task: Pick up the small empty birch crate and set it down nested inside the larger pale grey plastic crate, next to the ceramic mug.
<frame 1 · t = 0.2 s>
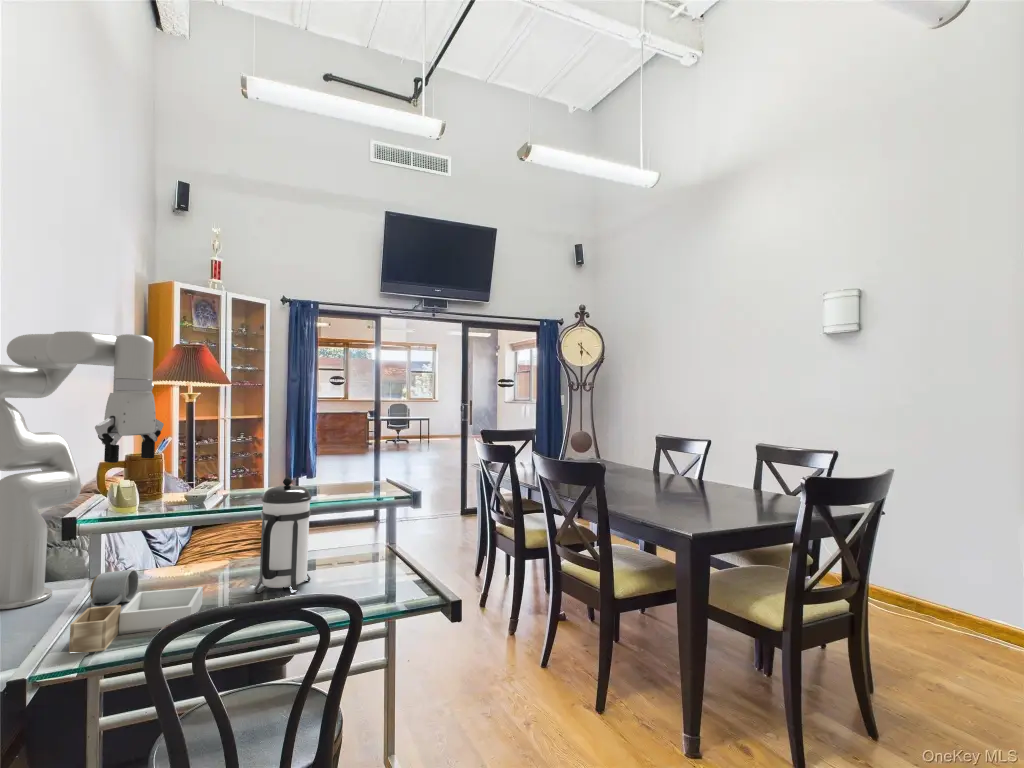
hand: (130, 460, 127), 37 cm above the table, tool pointing down, fingers open, 9 cm apart
coffee press: (282, 589, 148), on the table
ceramic mug: (112, 604, 134), on the table
grey crate: (163, 618, 126), on the table
birch crate: (95, 643, 113), on the table
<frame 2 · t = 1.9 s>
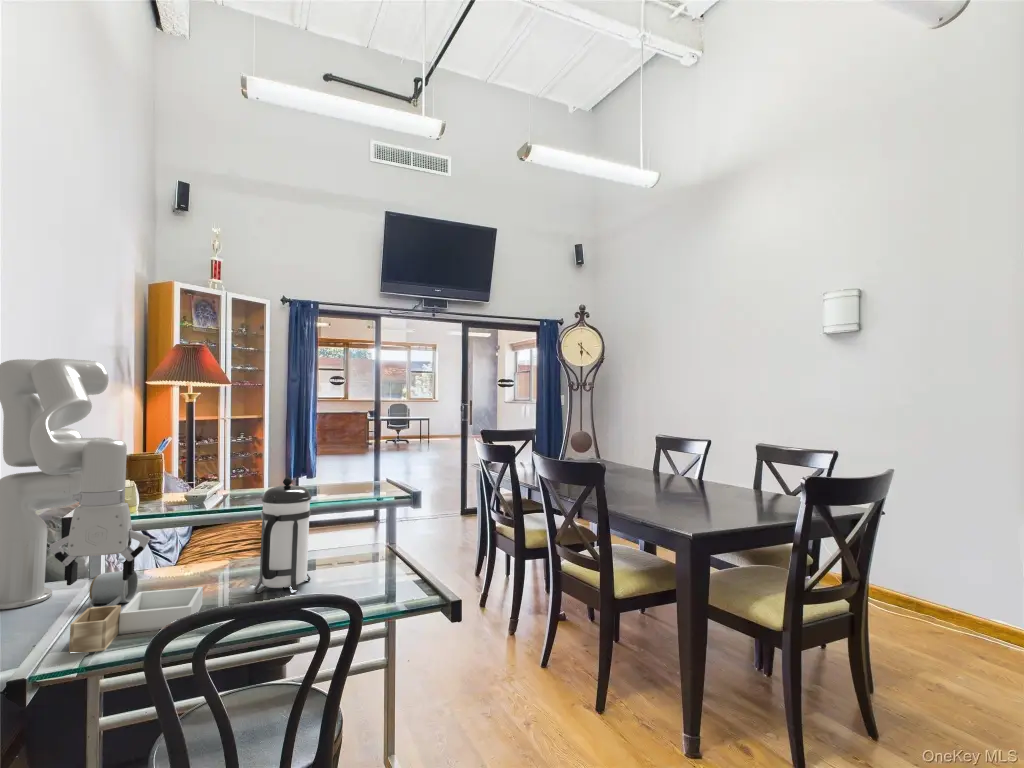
hand: (99, 580, 113), 13 cm above the table, tool pointing down, fingers open, 9 cm apart
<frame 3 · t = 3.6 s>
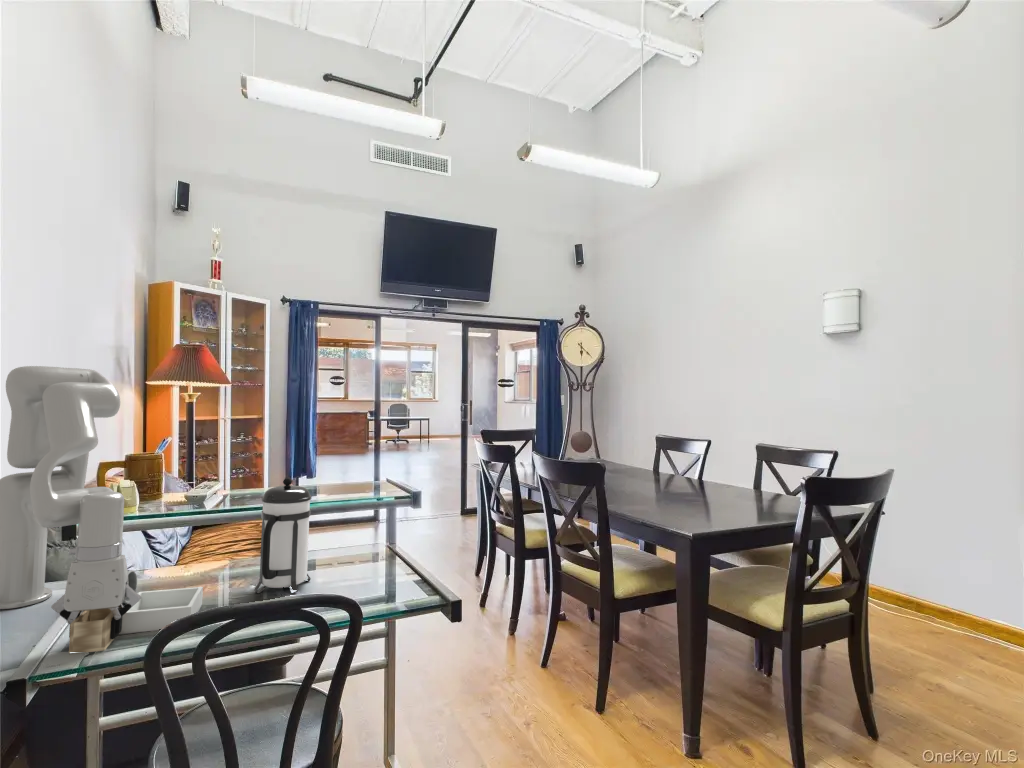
hand: (95, 637, 113), 1 cm above the table, tool pointing down, fingers closed on birch crate, 6 cm apart
birch crate: (95, 642, 113), on the table, touching gripper
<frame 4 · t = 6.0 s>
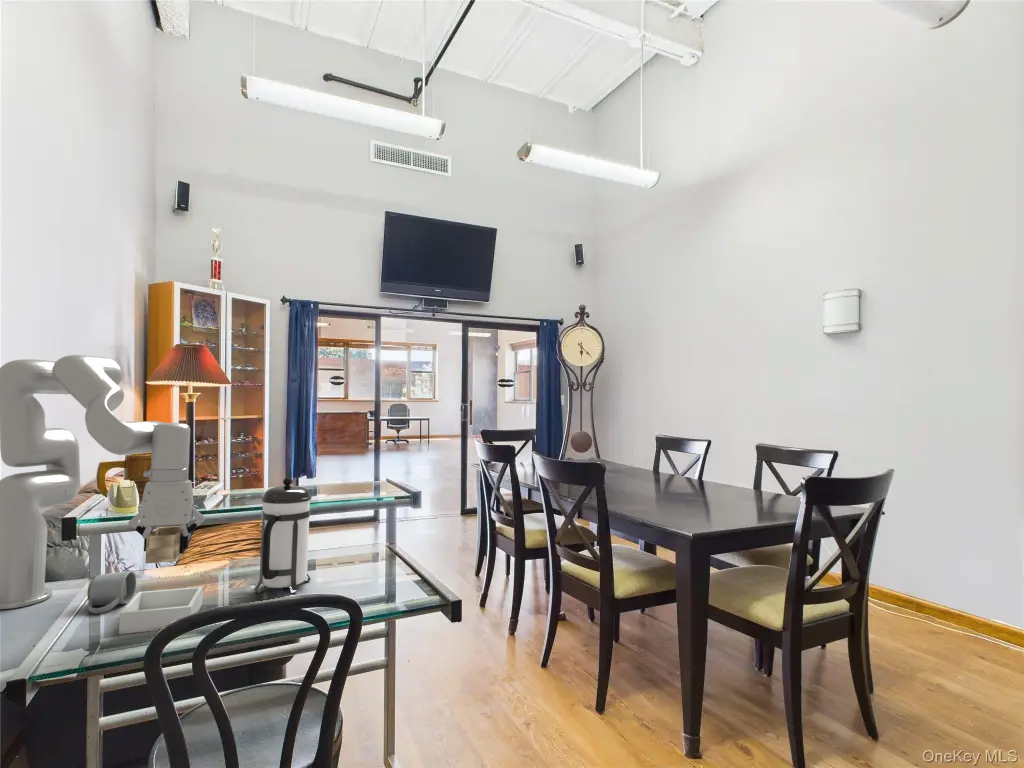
hand: (166, 552, 127), 15 cm above the table, tool pointing down, fingers closed on birch crate, 6 cm apart
birch crate: (166, 556, 127), point 14 cm above the table, touching gripper
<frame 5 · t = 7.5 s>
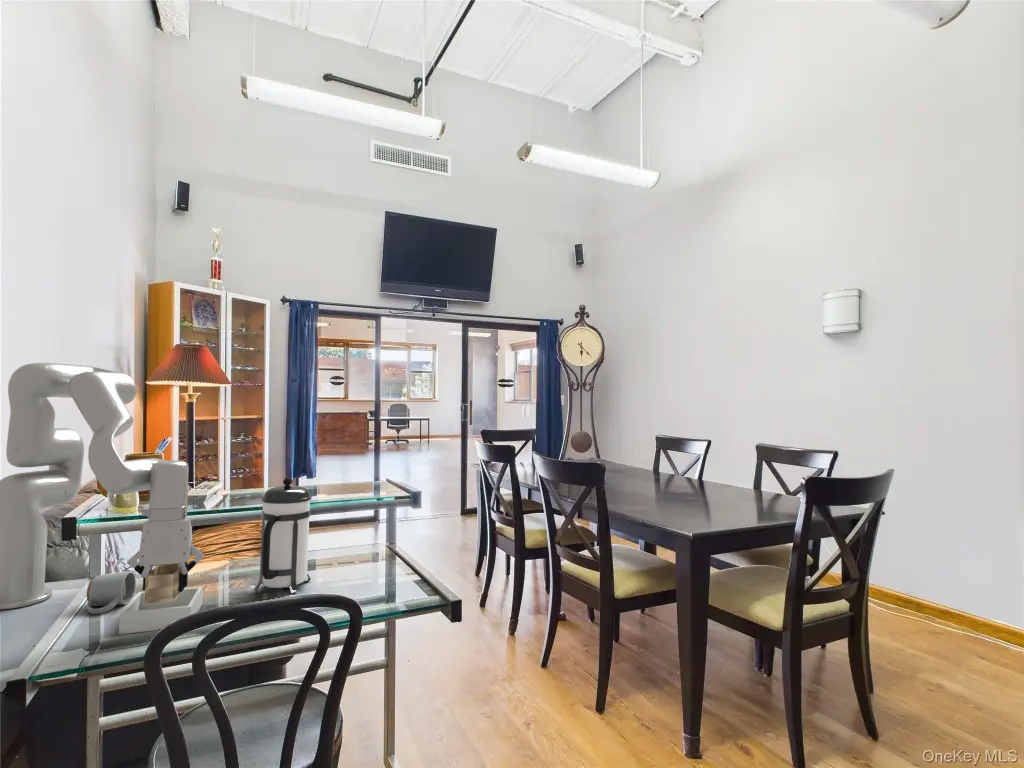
hand: (165, 590, 126), 6 cm above the table, tool pointing down, fingers closed on birch crate, 6 cm apart
birch crate: (165, 595, 126), point 5 cm above the table, touching gripper
when the fingers open (3 cm above the table, at t = 8.6 s): birch crate drops 2 cm, resting on grey crate.
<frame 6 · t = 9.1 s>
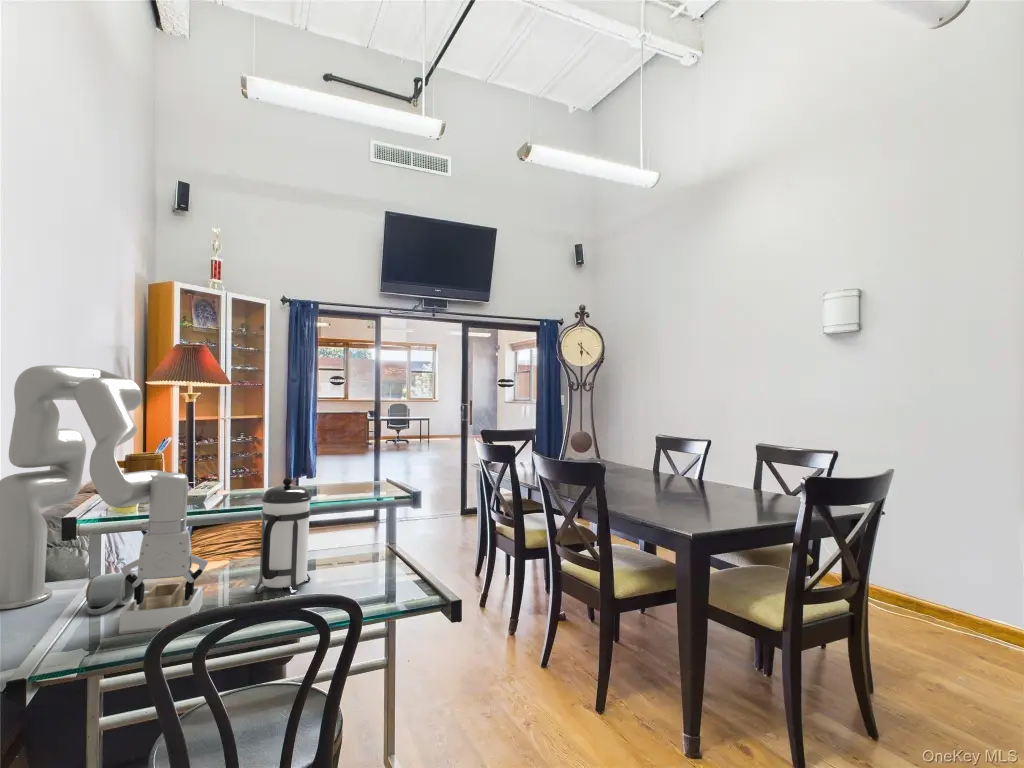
hand: (164, 600, 126), 4 cm above the table, tool pointing down, fingers open, 9 cm apart
grey crate: (163, 618, 126), on the table, touching birch crate
birch crate: (163, 616, 126), point 1 cm above the table, touching grey crate
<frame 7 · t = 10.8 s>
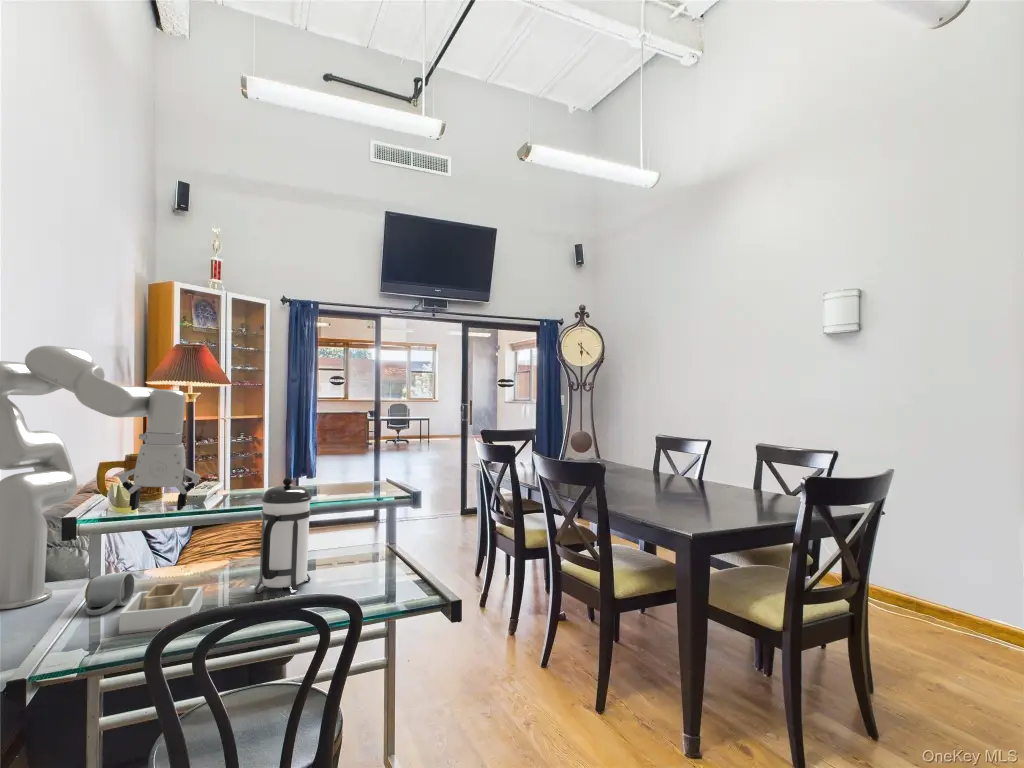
hand: (157, 509, 133), 24 cm above the table, tool pointing down, fingers open, 9 cm apart
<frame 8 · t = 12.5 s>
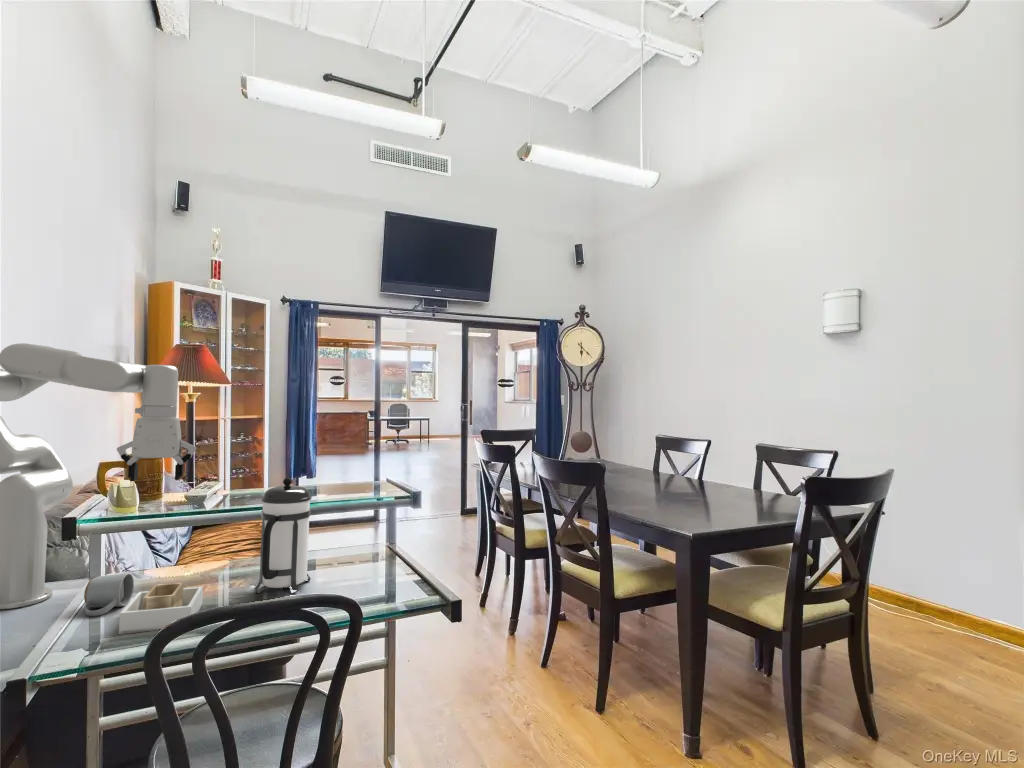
hand: (156, 480, 138), 30 cm above the table, tool pointing down, fingers open, 9 cm apart
at the end: birch crate 0.1 cm off-centre on the grey crate, point 0.6 cm above the grey crate's base; birch crate tilted 0°; the gripper is holding nothing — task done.
